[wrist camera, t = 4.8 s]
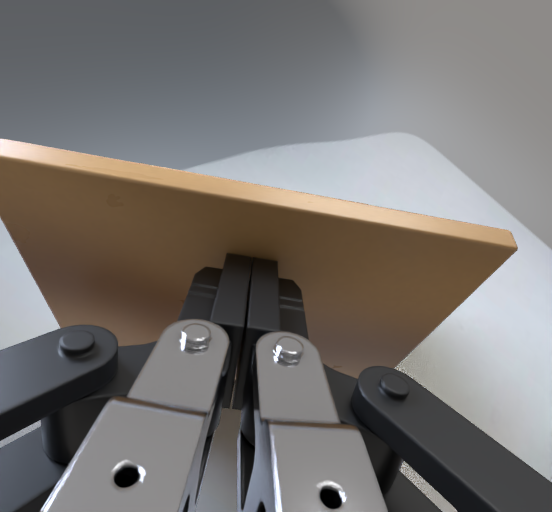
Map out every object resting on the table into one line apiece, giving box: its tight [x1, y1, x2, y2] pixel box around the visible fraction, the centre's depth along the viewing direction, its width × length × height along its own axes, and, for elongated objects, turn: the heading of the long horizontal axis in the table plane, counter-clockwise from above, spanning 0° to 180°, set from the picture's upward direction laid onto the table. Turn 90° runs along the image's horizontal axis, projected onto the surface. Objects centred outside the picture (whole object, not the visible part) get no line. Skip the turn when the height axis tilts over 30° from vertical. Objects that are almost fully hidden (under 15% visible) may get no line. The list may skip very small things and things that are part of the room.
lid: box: [0, 138, 518, 379], centre depth 14 cm, size 11×14×1 cm
